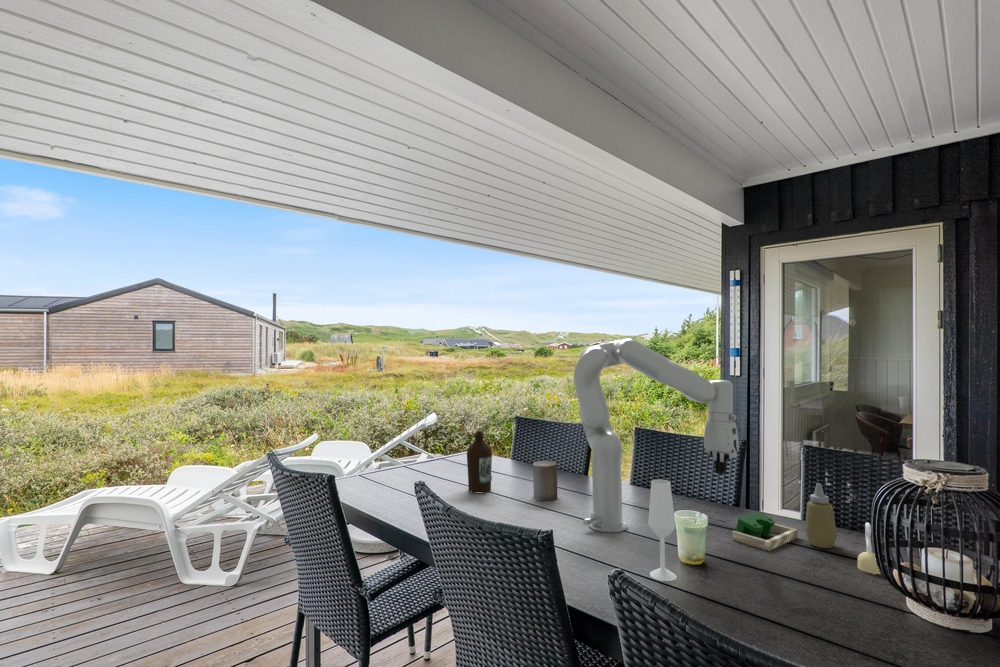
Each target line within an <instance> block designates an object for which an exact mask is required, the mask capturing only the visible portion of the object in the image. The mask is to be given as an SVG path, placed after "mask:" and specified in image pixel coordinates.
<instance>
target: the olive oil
mask: <svg viewBox="0 0 1000 667" xmlns="http://www.w3.org/2000/svg"><path fill="white" fill-rule="evenodd" d="M492 461H493V452H492V449H491V446H489V444H487V442H485V440H484V432H483V430H480V429H479V430H475V434H474V441H473V442H472V443H471V444H470V445H469V446H468V449H467V451H466V462H467V466H466V467H467V482H468V491H469V490H470V491H472V492H486V493H488V492H487V491H489V492H491V490H492V480H493V476H492ZM470 491H469V492H470ZM472 492H471V493H472Z"/></svg>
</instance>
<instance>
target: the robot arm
mask: <svg viewBox="0 0 1000 667" xmlns="http://www.w3.org/2000/svg"><path fill="white" fill-rule="evenodd" d="M622 364H626V365H627V366H629V367H630V368H632V369H634V370H635V371H638V372H639V373H641V374H643V375H644V376H646V377H648V378H650V379H651V380H653V381H655V382H658V383H660V384H662V385H666V386H668V387H671V388H673V389H675V390H677V391H678V392H680V393H682V394H683V396H684V397H685V398H686V399H687V400H689V401H692V402H697V403H699V404H707V408H708V409H707V414H708V415H707V420H706V422H705V427H704V433H703V434H704V435H703V437H704V438H703V446H704V452H705V453H706V454H708V455H710V456H711V457H712V459H713V461H714V470H715V474H716V475H717V474H718V475H723V474H725V473H726V471H727V462H728V460H730V459H735V458H737V457H738V454H737V453H738V452H739V450H740V449H739V448H740V447H739V445H740V443H739V433H738V428H737V423H736V422H734V421H735V420H737V415H734V402H733V401H734V400H733V399H734V393H733V392H734V386H733V383H732V381H730V380H728V379H712V380H708V379H706V378H705V377H702V376H701V375H700V374H697V373H695V372H694V371H692V370H691V369H688V368H686V367H685V366H683V365H680V364H678V362H677V363H676V362H675V361H673V360H672V359H670V358H667V357H665V355H663V354H661V353H658V352H657V351H655V350H653V349H651V348H649V347H648V346H646V345H645V344H643V343H641V342H639V341H637V340H635V339H633V338H621V339H618V340H617V339H616V340H614V341H609V342H605V343H601V344H600V343H599V344H595V345H590V346H587V347H586V348H584V349H583V350H582V351H581V354H580V356H579V359H578V361H577V362H576V364H575V368H574V371H573V384H574V387H575V388H574V389H575V392H576V395H577V399H578V403H579V407H578V408H579V409H578V410H579V411H578V412H579V416H580V417H579V418H580V421H581V424H582V428H583V431H584V433H585V436H586V439H587V444H588V445H589V447H590V449H591V451H592V457H591V458H592V462H591V476H592V477H591V478H592V482H591V483H592V512H591V513H590V516H589V517H588V518H584V519H583V520H582V524H583V525H584V526H589V528H590V529H591V530H595V531H597V532H601V533H602V532H603V533H620V532H624V531H625V530H627V528H628V523H627V522H626V521H625V520H624V519H623V493H622V492H623V490H622V489H623V488H622V486H623V485H622V462H623V461H622V460H623V445H622V441H621V439H620V437H619V436H618V434H616V433H615V432H614V431H613V428H612V424H611V421H610V419H611V418H610V417H611V412H610V409H609V405H608V403H607V401H606V398H605V395H604V392H603V389H602V385H601V377H600V376H601V374H602V371H603V370H604V368H609V367H614V366H618V365H622Z"/></svg>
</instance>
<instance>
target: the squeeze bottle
mask: <svg viewBox="0 0 1000 667" xmlns="http://www.w3.org/2000/svg"><path fill="white" fill-rule="evenodd" d="M829 497H830V496H828V495H825V493H824V489H823V485H822V483H820V482H816V485H815V488H814V492H813V493H812V494H810V496H809V499H810V501H808V502H807V504H806V513H805V515H806V516H805V524H804V525H805V527H804V529H805V530H804V532H805V535H806V538H807V540H808V543H809V544H810V545H811V546H814V547H816V548H817V547H818V548H822V549H832V548H833V547H834V545H835V542H836V539H837V537H838V534H837V533H838V532H837V527H836V521H835V515H834V514H835V513H834V507H833V505H832V504H831V503H829V502H830V499H829Z"/></svg>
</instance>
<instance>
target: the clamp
mask: <svg viewBox="0 0 1000 667" xmlns="http://www.w3.org/2000/svg"><path fill="white" fill-rule="evenodd" d="M775 522H776V521H775V520H774V519H773V518H771V517H769V516H767V515H765V514H763V513H761V512H760V511H757V512H754V513H751V514H747V515H744V516H742V517H739V518H737V524H736V528H735V531H737V532H741V533H744V534H747V535H751V536H754V537H758V538H761V536H762V535H763V534H764V535H763V536H766V535H767V536H768V537H769V536H770V532H771V531H770V529H771V527H773V526H774V523H775ZM775 524H776V523H775ZM767 536H766V537H767ZM761 539H762V538H761Z"/></svg>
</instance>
